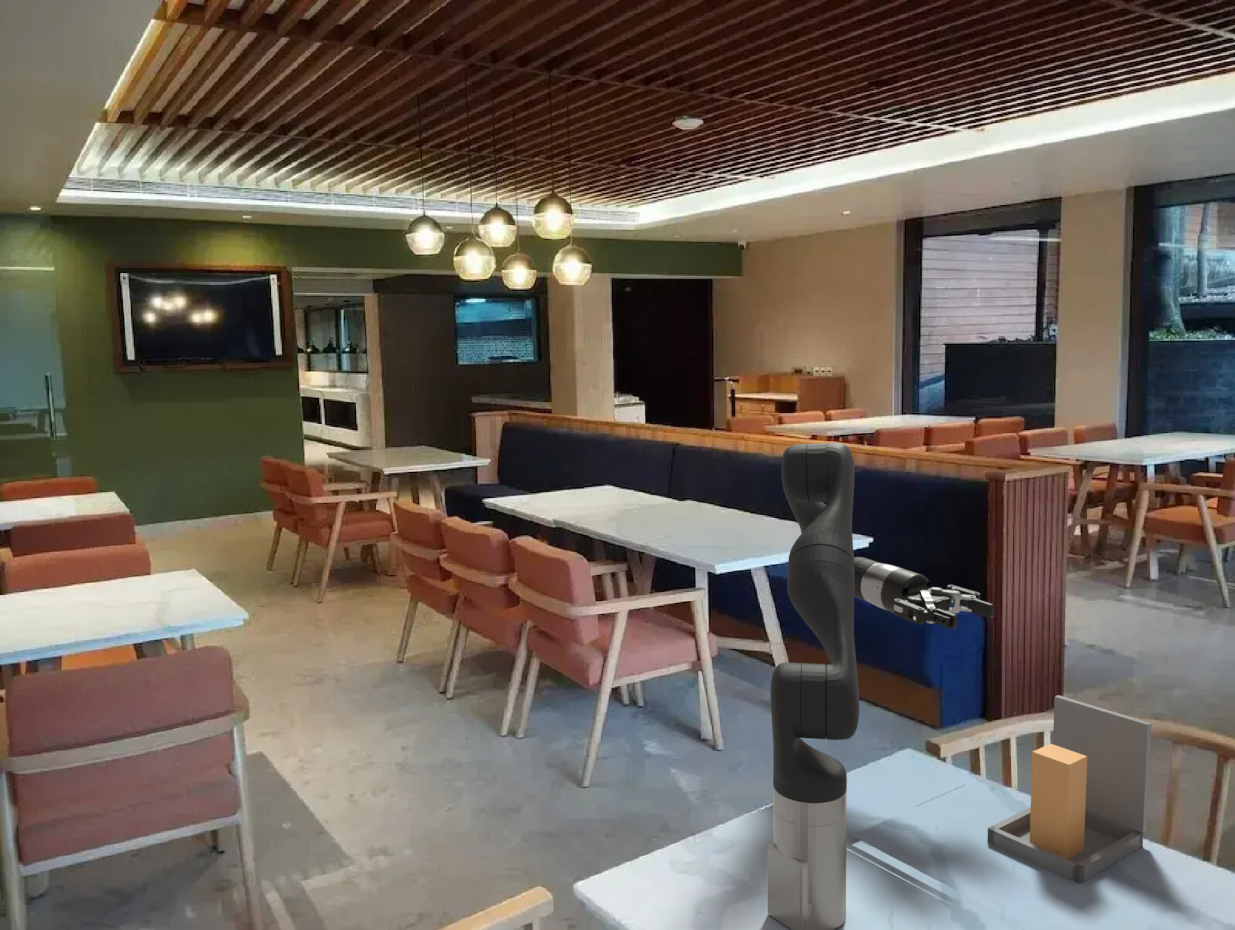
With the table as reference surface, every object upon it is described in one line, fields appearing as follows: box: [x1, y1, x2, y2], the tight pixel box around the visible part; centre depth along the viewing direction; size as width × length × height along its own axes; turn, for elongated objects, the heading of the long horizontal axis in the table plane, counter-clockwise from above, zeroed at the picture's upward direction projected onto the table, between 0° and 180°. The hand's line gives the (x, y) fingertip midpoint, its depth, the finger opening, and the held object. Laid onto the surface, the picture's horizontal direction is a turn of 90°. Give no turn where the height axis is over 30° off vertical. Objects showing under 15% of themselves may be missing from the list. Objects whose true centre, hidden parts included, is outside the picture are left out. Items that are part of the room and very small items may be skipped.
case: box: [987, 694, 1153, 884], centre depth 141 cm, size 17×14×19 cm
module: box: [1030, 743, 1087, 860], centre depth 140 cm, size 4×6×14 cm
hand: (974, 617), depth 153 cm, fingers open, 8 cm apart
